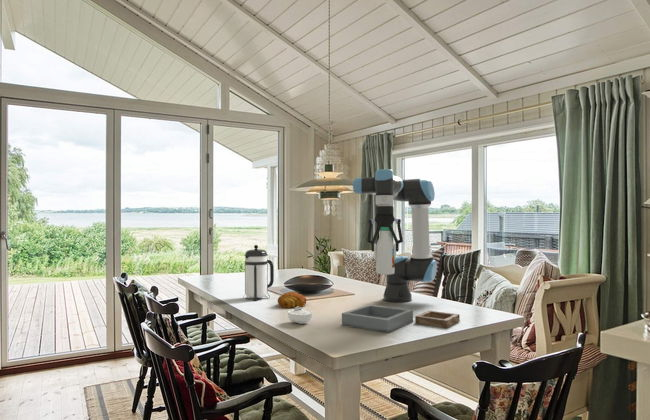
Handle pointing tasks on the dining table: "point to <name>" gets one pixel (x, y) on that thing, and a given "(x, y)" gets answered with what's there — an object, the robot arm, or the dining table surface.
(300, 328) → the dining table surface
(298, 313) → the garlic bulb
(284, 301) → the croissant
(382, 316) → the charcoal tray
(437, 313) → the wooden square tray
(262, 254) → the coffee press
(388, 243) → the milk bottle
